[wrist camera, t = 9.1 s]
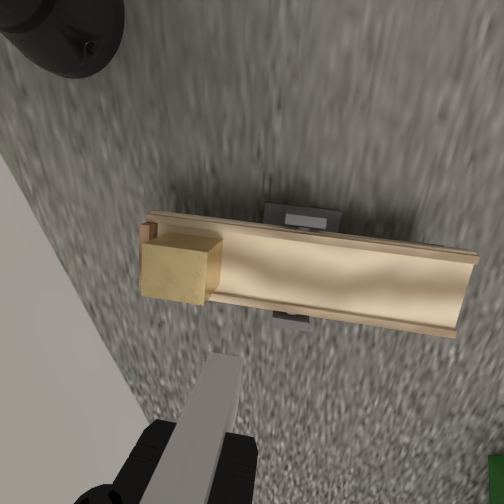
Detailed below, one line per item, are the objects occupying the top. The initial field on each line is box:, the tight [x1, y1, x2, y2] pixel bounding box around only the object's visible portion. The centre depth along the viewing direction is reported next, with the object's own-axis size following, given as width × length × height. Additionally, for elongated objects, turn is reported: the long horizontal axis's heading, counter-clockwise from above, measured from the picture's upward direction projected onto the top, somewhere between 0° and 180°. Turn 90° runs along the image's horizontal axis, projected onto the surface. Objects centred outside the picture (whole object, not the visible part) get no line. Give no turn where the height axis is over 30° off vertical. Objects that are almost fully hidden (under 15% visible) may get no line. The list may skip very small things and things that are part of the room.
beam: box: [139, 210, 480, 339], centre depth 33 cm, size 10×33×8 cm, turn 84°
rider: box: [141, 232, 223, 305], centre depth 30 cm, size 5×6×6 cm
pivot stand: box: [263, 202, 342, 332], centre depth 36 cm, size 12×10×12 cm
